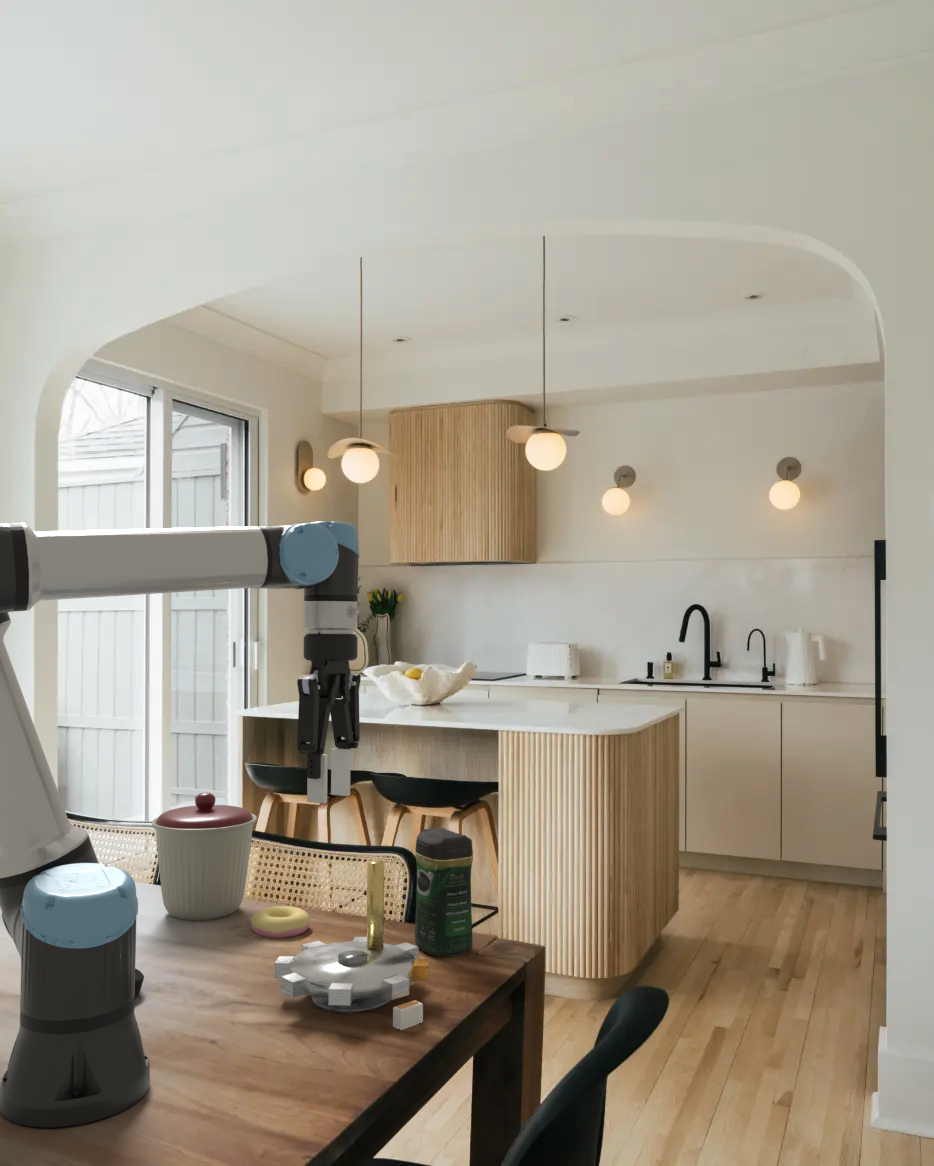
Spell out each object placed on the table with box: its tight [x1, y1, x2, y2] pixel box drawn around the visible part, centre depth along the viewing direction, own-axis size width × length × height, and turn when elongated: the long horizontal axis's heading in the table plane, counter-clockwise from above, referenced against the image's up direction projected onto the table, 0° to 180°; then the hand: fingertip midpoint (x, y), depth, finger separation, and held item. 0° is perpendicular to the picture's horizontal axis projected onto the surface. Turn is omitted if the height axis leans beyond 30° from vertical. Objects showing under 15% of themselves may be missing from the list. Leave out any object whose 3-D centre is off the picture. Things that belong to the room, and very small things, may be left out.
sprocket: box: [273, 859, 431, 1006], centre depth 135 cm, size 21×21×14 cm
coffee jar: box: [414, 827, 474, 957], centre depth 156 cm, size 10×8×19 cm
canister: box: [151, 792, 258, 921], centre depth 175 cm, size 18×18×21 cm
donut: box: [250, 905, 311, 939], centre depth 165 cm, size 10×5×9 cm
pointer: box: [392, 999, 424, 1031], centre depth 126 cm, size 4×2×3 cm, turn 133°
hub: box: [311, 995, 393, 1015], centre depth 135 cm, size 11×11×3 cm
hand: (329, 798), depth 137 cm, fingers open, 6 cm apart
